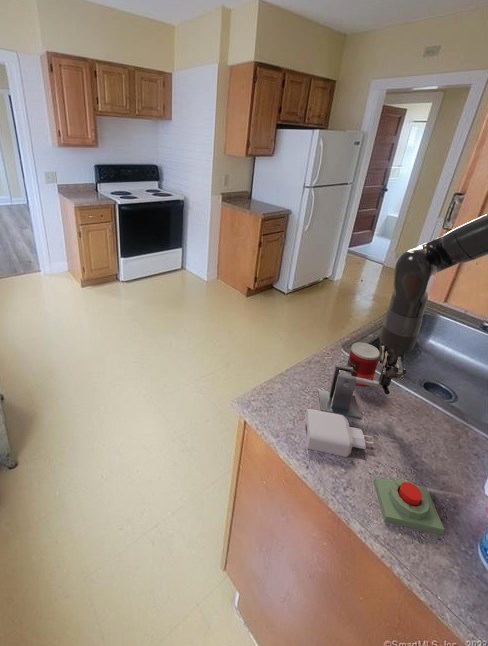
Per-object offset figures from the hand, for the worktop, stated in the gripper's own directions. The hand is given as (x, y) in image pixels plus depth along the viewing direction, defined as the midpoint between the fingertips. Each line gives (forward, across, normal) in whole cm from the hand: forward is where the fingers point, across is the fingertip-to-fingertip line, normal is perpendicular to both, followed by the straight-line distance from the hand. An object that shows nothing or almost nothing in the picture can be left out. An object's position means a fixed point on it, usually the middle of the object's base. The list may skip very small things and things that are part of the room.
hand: (383, 383), depth 84 cm
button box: (+10, -25, +1) cm, 27 cm away
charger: (+10, -12, +12) cm, 20 cm away
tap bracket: (+10, 0, +10) cm, 14 cm away
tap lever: (+1, 0, +5) cm, 5 cm away
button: (+7, -25, +1) cm, 26 cm away
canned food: (+10, +13, +2) cm, 17 cm away
